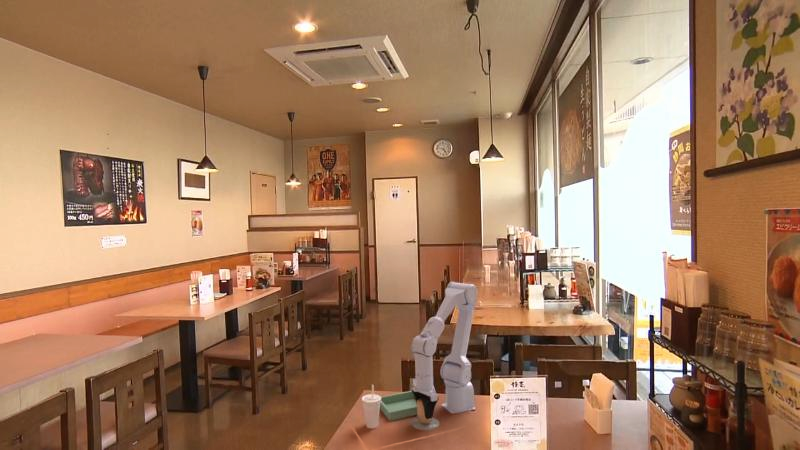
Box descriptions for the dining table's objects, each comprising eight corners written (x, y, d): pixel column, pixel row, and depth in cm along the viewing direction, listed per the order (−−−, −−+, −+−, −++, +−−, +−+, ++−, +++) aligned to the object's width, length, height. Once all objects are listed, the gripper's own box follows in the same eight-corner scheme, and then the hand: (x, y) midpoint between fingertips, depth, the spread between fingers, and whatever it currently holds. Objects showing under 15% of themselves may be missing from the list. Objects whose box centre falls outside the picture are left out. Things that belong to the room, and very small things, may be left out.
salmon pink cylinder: (428, 415, 144) (428, 397, 144) (434, 421, 139) (434, 403, 139) (415, 417, 142) (414, 399, 142) (421, 424, 138) (420, 405, 138)
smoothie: (379, 432, 137) (378, 389, 136) (360, 431, 138) (358, 388, 137) (383, 422, 143) (382, 381, 142) (364, 421, 144) (363, 380, 143)
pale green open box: (417, 398, 161) (417, 389, 161) (432, 412, 149) (432, 403, 149) (376, 406, 155) (376, 397, 155) (389, 422, 143) (389, 412, 143)
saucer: (431, 416, 147) (431, 414, 147) (444, 428, 139) (444, 426, 139) (407, 421, 143) (407, 419, 143) (418, 434, 135) (418, 432, 135)
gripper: (404, 368, 146) (405, 407, 146) (422, 383, 132) (423, 427, 133) (423, 364, 148) (424, 403, 149) (443, 379, 135) (444, 422, 135)
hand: (425, 414), depth 141 cm, fingers closed on salmon pink cylinder, 5 cm apart
